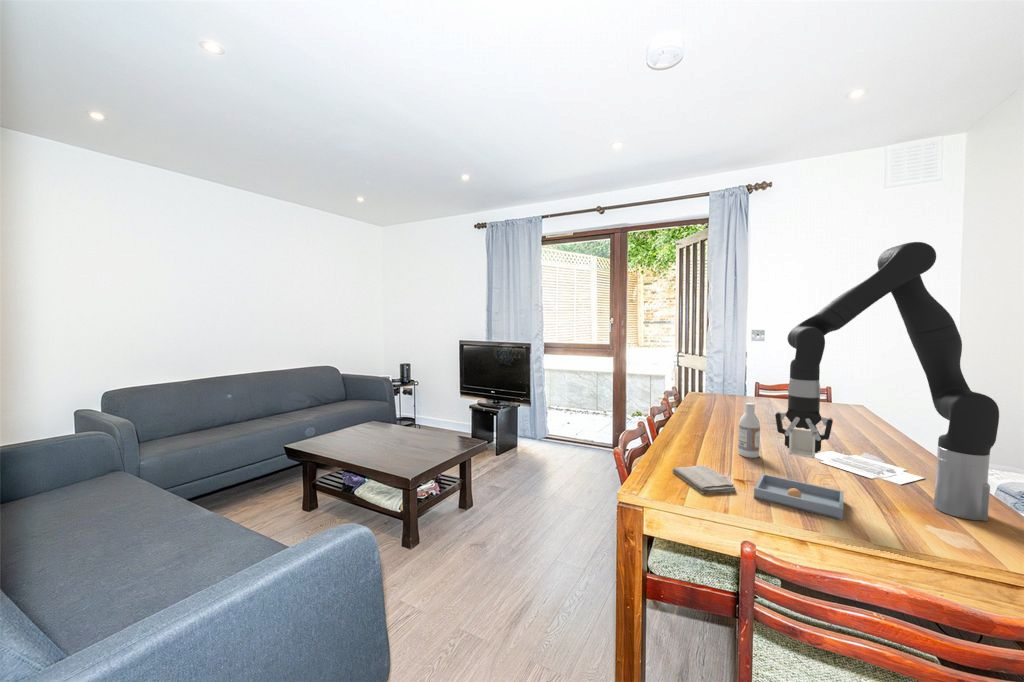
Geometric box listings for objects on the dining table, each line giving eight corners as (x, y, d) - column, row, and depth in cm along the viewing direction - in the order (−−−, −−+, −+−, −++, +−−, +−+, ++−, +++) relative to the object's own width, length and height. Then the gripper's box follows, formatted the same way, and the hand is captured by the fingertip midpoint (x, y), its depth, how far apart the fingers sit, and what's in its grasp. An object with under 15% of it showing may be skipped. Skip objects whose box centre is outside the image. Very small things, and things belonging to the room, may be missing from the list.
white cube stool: (815, 452, 118) (816, 431, 118) (814, 458, 113) (815, 436, 113) (791, 448, 122) (791, 428, 121) (788, 454, 117) (789, 432, 117)
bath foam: (753, 459, 147) (755, 406, 145) (734, 454, 152) (736, 403, 151) (762, 455, 150) (764, 404, 149) (743, 450, 156) (745, 400, 155)
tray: (843, 501, 114) (843, 491, 113) (842, 520, 103) (843, 509, 103) (761, 482, 126) (762, 473, 126) (753, 498, 116) (754, 488, 116)
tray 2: (895, 489, 123) (895, 477, 123) (801, 461, 149) (801, 451, 149) (931, 479, 130) (931, 468, 130) (836, 454, 156) (836, 445, 156)
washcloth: (703, 496, 118) (703, 486, 118) (670, 473, 135) (670, 464, 135) (739, 494, 120) (739, 484, 119) (702, 471, 137) (702, 462, 137)
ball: (790, 498, 112) (800, 503, 112) (795, 488, 112) (806, 494, 112) (783, 494, 115) (793, 499, 115) (788, 484, 115) (798, 490, 115)
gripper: (835, 394, 115) (833, 451, 116) (776, 389, 124) (775, 442, 125) (835, 399, 109) (833, 458, 110) (773, 393, 118) (771, 448, 119)
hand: (802, 449), depth 118 cm, fingers closed on white cube stool, 6 cm apart
